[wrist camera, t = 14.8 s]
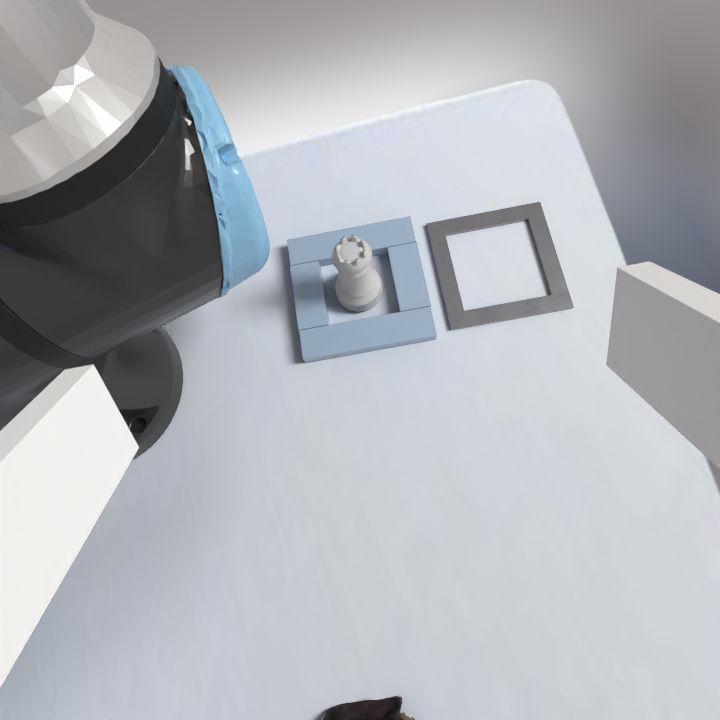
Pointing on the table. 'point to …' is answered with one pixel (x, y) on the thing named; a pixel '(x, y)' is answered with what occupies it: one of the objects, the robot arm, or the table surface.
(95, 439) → the robot arm
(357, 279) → the rook chess piece
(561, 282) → the bezel
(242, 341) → the table surface
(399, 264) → the socket
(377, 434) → the table surface
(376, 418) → the table surface
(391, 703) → the bread roll
